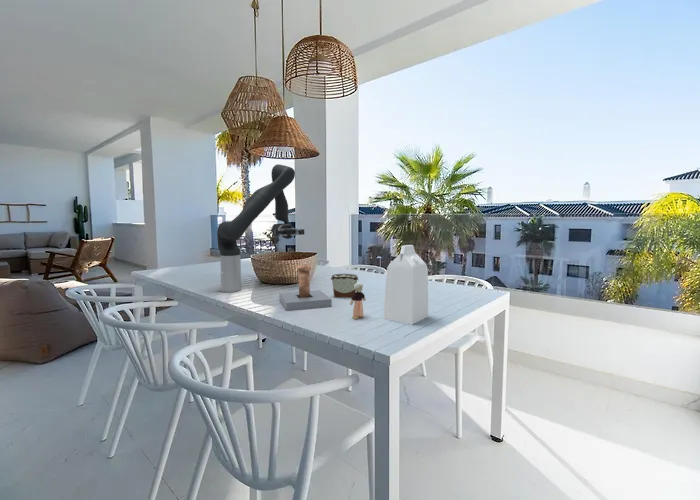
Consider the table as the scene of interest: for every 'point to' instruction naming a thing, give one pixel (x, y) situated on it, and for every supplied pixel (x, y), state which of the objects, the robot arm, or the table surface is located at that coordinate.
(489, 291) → the table surface
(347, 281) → the food container
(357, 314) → the grandmother figurine
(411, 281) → the milk
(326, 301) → the socket block
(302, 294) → the headed peg
